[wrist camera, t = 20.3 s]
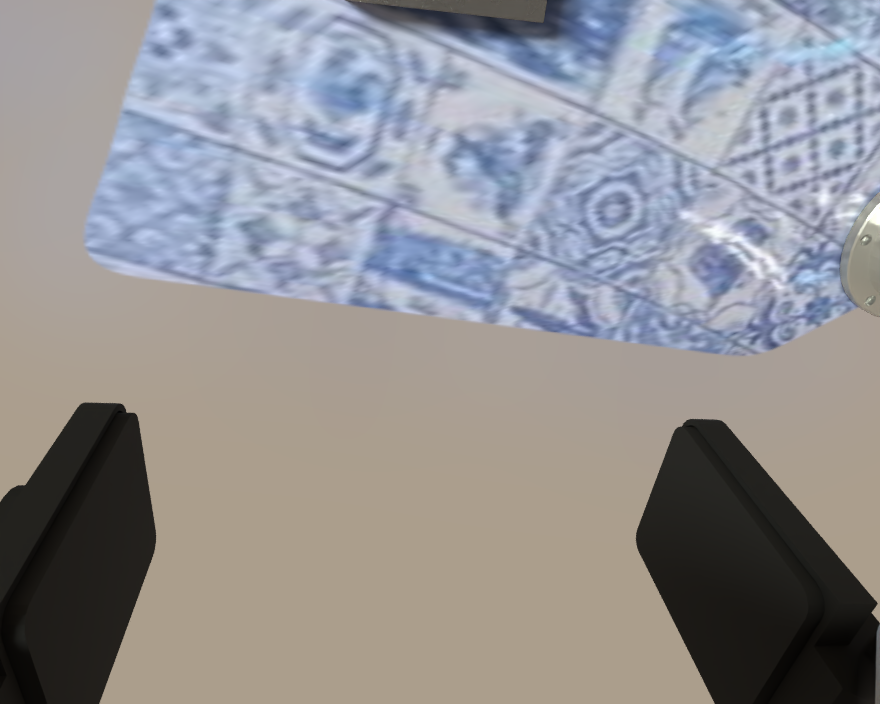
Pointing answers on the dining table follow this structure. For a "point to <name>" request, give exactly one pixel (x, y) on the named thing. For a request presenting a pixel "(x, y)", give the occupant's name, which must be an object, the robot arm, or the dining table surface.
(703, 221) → the dining table surface
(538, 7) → the socket
